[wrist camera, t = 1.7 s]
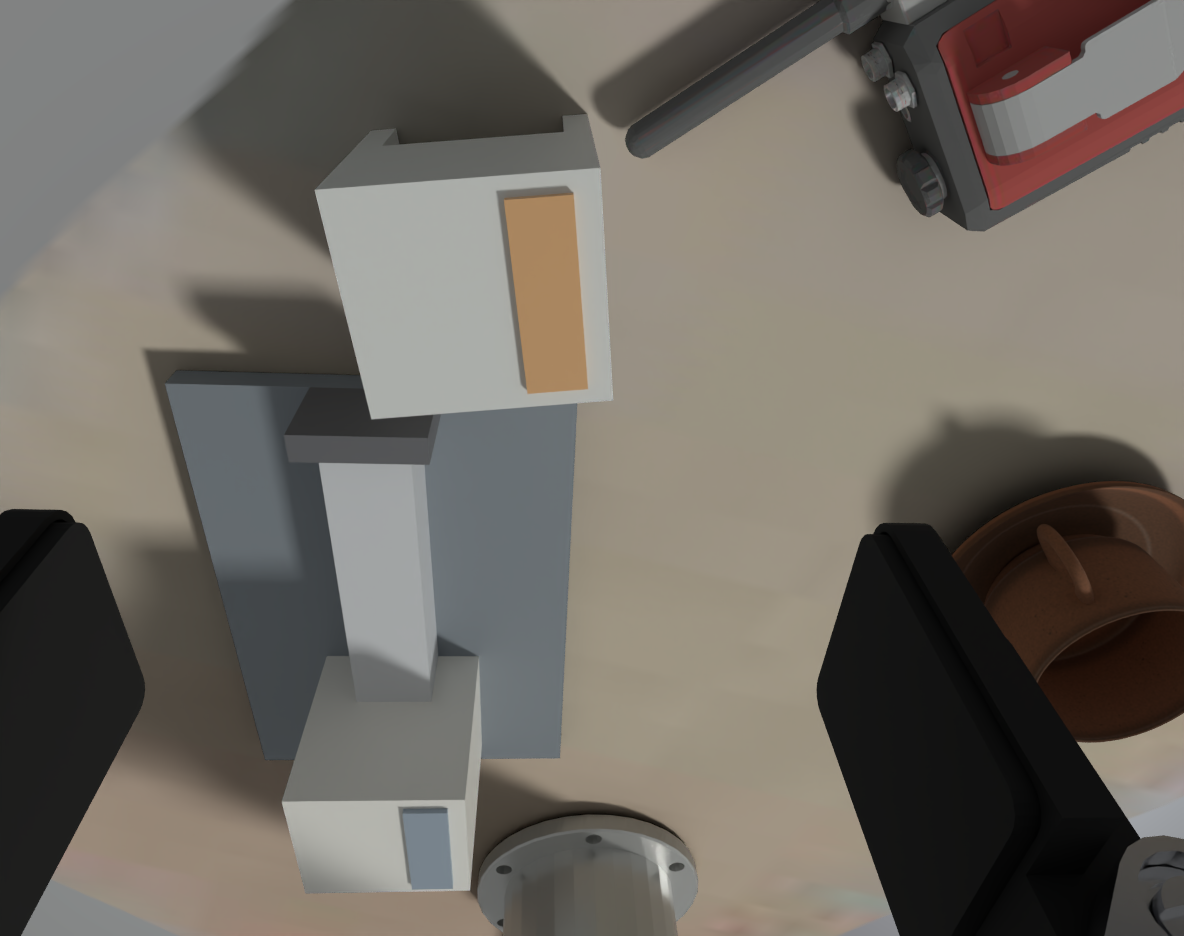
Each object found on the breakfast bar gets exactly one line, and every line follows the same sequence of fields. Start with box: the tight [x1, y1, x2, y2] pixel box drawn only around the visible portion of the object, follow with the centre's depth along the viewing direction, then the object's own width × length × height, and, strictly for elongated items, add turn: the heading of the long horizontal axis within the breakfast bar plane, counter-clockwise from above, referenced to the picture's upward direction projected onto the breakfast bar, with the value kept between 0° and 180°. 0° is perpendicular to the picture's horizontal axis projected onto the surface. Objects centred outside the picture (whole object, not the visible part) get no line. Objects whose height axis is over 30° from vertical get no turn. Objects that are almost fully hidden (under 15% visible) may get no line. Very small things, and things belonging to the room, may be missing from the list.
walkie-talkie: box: [625, 0, 1184, 231], centre depth 22 cm, size 9×4×20 cm
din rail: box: [165, 370, 577, 893], centre depth 30 cm, size 20×14×8 cm
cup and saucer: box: [952, 481, 1184, 742], centre depth 33 cm, size 12×12×6 cm
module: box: [315, 114, 613, 419], centre depth 23 cm, size 6×6×7 cm
